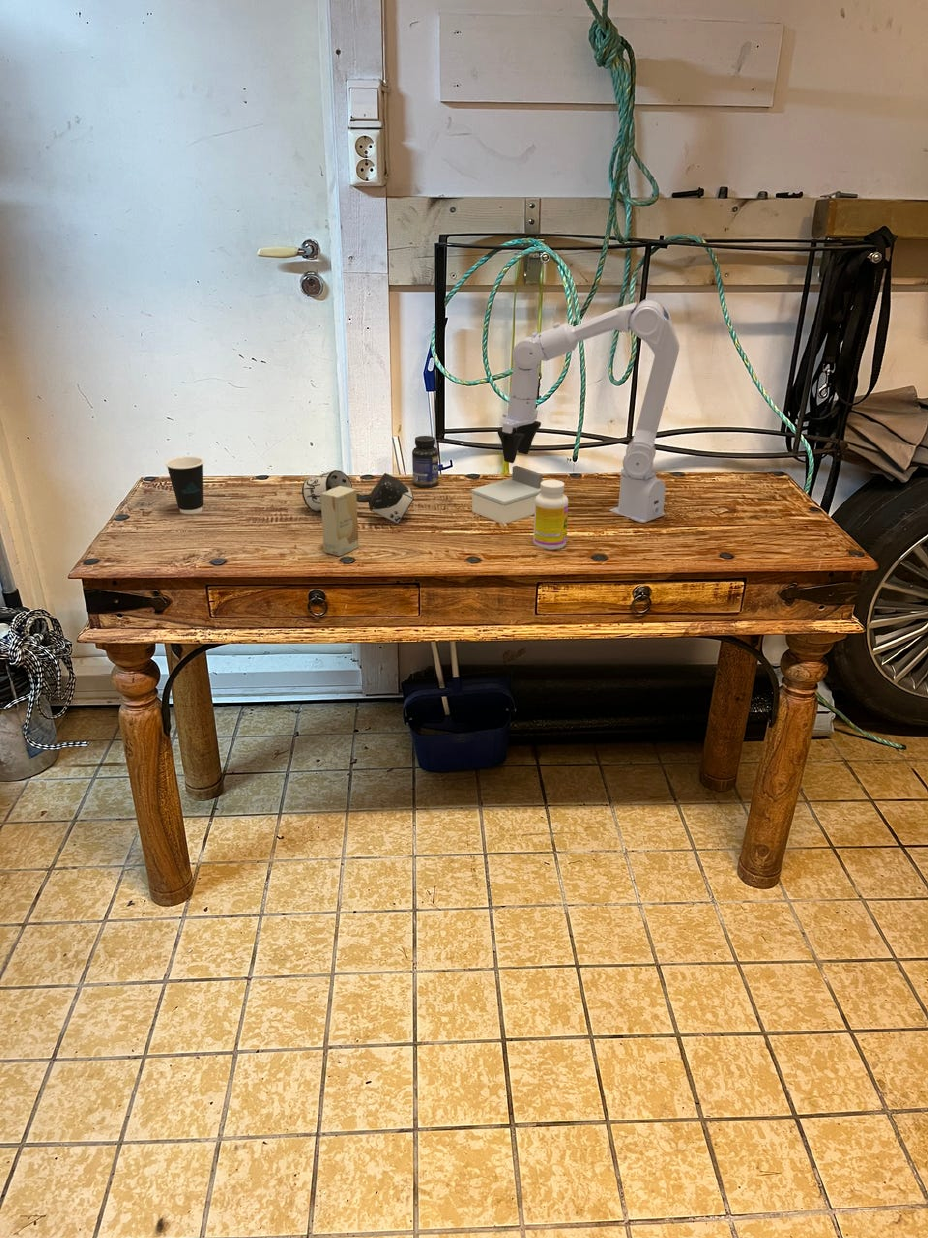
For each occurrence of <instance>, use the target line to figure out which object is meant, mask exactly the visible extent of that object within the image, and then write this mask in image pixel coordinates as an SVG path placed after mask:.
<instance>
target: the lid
mask: <svg viewBox="0 0 928 1238" xmlns="http://www.w3.org/2000/svg"><path fill="white" fill-rule="evenodd" d="M542 481H543V473H541V472H540V473H539V472H537V471H533V470H531V469H527V468H524V467H521V466H518V465H514V466H512V477H509V478H506V479H503V480H498V481H495V482H491V483H488V484H486V485H485V484H484V485H482V486H478V487H476V488H472V489H470V493H472V494H473V493H474V494H477V495H480V496H482V497H485V498H488V499H490V500H493V501H496V502H498V503H501V504H504V505H505V504H508V503H512V502H515V501H518V500H521V499H524V498H528V497H531V496H534V495H537V494H540V493H541V489H540V486H541V482H542Z"/></svg>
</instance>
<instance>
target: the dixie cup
mask: <svg viewBox="0 0 928 1238" xmlns="http://www.w3.org/2000/svg"><path fill="white" fill-rule="evenodd" d="M204 464H205V460H204V459H203V458H201V457H198V456H180V457H175V458H171V459H169V460H167V461H166V462H165V466H166V467H167V470H168V474H169V478H170V482H171V486H172V490H173V494H174V497H175V501H176V506H177V508H178V509H179V512H180V513H181V514H183V515H195V514H198V513H201V512H202V511H203V507H204Z"/></svg>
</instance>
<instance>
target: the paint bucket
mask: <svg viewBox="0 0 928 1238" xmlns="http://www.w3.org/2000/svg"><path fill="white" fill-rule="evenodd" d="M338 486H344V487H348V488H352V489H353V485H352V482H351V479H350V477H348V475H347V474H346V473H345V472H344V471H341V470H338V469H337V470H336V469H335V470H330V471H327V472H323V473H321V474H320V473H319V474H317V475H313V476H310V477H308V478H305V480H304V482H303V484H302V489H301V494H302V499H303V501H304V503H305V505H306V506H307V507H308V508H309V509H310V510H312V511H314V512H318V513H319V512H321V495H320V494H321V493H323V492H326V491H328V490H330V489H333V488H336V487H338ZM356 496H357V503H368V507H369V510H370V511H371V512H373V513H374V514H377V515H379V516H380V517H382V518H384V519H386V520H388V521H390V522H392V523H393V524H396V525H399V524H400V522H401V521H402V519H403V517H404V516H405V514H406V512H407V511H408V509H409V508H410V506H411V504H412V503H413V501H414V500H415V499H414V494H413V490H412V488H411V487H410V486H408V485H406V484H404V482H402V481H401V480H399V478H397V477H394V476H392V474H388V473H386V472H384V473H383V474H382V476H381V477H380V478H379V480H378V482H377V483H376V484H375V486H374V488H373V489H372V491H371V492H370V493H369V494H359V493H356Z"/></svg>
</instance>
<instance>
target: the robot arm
mask: <svg viewBox="0 0 928 1238" xmlns="http://www.w3.org/2000/svg"><path fill="white" fill-rule="evenodd" d="M613 330H615V331H616V330H617V331H620V332H623V333H627V334H628V333H629V332H630V330H631V331H632V332H633V334H634V335H635V336H636V337H638V338H639V339H640V340H642V341H643V342H645V343H646V344H647V345H648V347H649V348H650V350H651V351H652V353H653V354H654V356H653V357H654V358H653V362H652V366H651V369H650V374H649V377H648V381H647V385H646V389H645V393H644V395H643V400H642V404H641V408H640V412H639V416H638V419H637V424H636V427H635V431H634V435H633V438H632V440H631V441H630V442H629V443H628V444H627V447H626V449H625V455H624V456H623V460H622V469H621V470H620V483H619V484H620V485H619V493H618V494H619V495H618V506H616V507H613V508H611V509H609V511H610V512H612V513H615V514H618V515H620V516H623V517H626V518H628V519H629V520H632V521H635V522H637V523H640V524H641V523H642V524H644V523H647V522H650V521H653V520H656V519H657V518H660V517H663V516H666V512H664V511H665V510H664V509H665V500H666V490H667V489H666V484H665V482H664V481H663V480H662V479H660V478H658V477H657V475H656V469H654V468H653V467H654V460H655V457H656V453H657V452H656V451H657V450H656V445H655V441H656V438H657V433H658V430H659V426H660V422H661V419H662V415H663V412H664V408H665V404H666V400H667V397H668V393H669V389H670V385H671V382H672V377H673V374H674V370H675V367H676V363H677V361H678V355H679V351H680V343H679V340H678V337H677V334H676V331H675V328H674V325H673V322H672V318H671V315H670V312H669V311H668V310H667V309H666V307H665V306H664V305H663V304H662V303H661V302H660V301H659V300H657V299H654V298H646V299H643V300H642V301H640V302H639V303H638V302H637V301H636V302H632V303H629V304H625V305H622V306H620V307H617V308H615V309H612V310H610V311H608V312H605V313H602V314H600V315H598V316H595V317H593V318H591V319H588V320H586V321H584V322H582V323H579V324H577V325H571V324H569V323H567V322H565V323H562V324H561V322H556V323H554V324H553V326H552V328H549V329H547V330H545V331H542V332H539V333H538V332H537V331H536V332H535V331H534V332H533V333H532V334H531V336H526V337H524V338H522V339H521V340H520V341H519V342H518V343H517V344H516V345H515V346H514V348H513V351H512V361H513V367H512V368H513V370H512V373H511V382H510V391H509V398H508V399H509V401H508V408H507V411H505V412H503V413H502V417H503V418H505V420H504V422H502V427H499V428H497V435H498V438H499V440H500V442H501V447H502V454H503V455H502V457H503V460H504V462H505V463H509V464H514V463H515V461H516V457H517V455H518V454H517V453H519V454H523V455H528V454H529V452H530V449H531V447H532V443H533V441H534V438H535V436H536V434H537V432H538V431H539V430H540V428H541V426H542V422H540V421H538V420H537V419H538V414H539V413H538V412H539V411H538V410H539V409H538V410H537V409H536V405H537V397H538V389H539V388H538V387H539V379H540V374H539V373H540V366H541V364H540V362H541V361H545V362H547V361H550V360H552V359H555V358H558V357H561V356H563V355H566V354H568V353H572V352H574V351H576V348H577V346H578V343H580V342H582V341H585V340H588V339H590V338H594V337H597V336H600V335H602V334H606V333H608V332H611V331H613Z"/></svg>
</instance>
